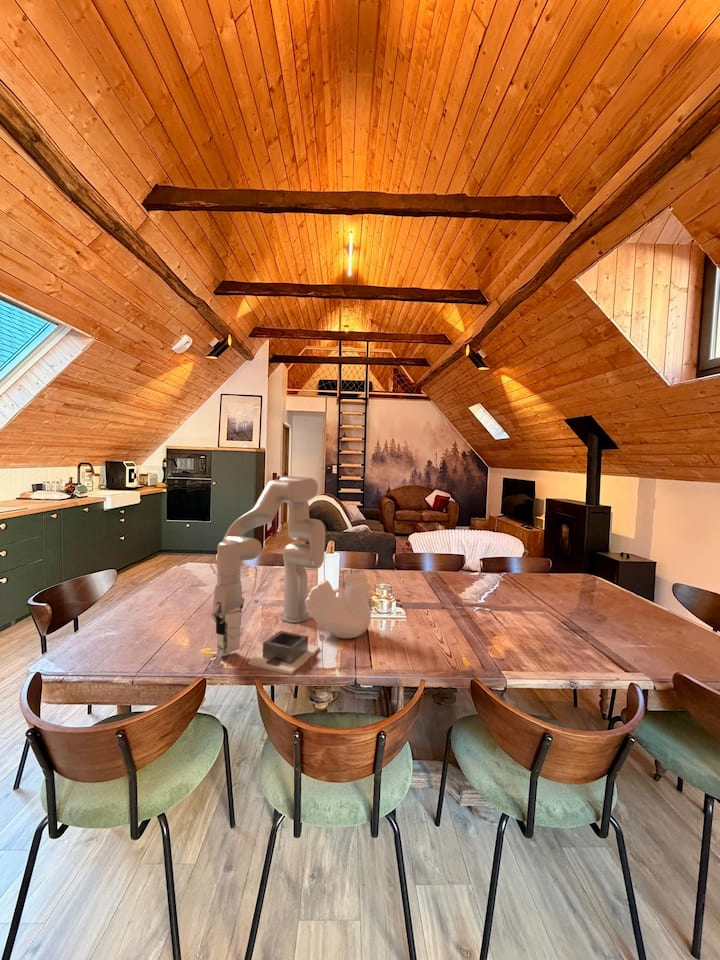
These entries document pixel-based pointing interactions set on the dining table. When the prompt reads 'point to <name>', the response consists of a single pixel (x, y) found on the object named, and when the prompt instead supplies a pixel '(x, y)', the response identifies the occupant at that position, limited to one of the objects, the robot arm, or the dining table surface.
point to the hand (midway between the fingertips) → (228, 629)
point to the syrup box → (230, 632)
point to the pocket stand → (284, 653)
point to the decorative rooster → (342, 606)
